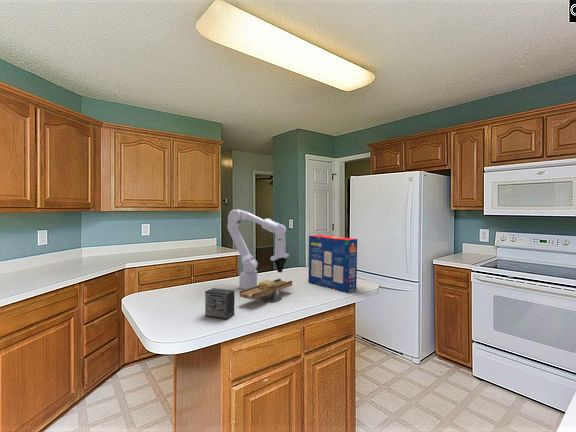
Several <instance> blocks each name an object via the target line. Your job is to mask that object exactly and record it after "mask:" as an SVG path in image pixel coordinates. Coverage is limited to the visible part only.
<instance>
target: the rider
mask: <svg viewBox="0 0 576 432" xmlns="http://www.w3.org/2000/svg"><path fill="white" fill-rule="evenodd" d="M258 285H259V289H263V290H265V289H268V288H271V287H274V286H275V282H274V280H268V279H267V280H261V281H259V282H258Z"/></svg>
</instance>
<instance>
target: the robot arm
mask: <svg viewBox="0 0 576 432" xmlns="http://www.w3.org/2000/svg"><path fill="white" fill-rule="evenodd" d="M242 220H243V221H244V220H248V221H250V222H253V223H256V224H258V225H260V226H261V228H262V229H264V230H266V231H268V232H270V233H274V235H275V236H274V237H275V238H274V255H271V256H270V262H271V261H272V262H274V263H275V267H276V271H277V273H280V274H281V273H283V270H284V267H285V264H286V262H287V258H289V257H290V253H288V252H287V253H286V246H287V244H286V242H287V241H286V240H287V239H286V232H287V228H286V226H285V225H284V224H282V223H281V224H280V222H277V221H274V220H272V218H264V219H263V218H261V217H259V216H257V215H255V214H253V213H251V212H249V211H246V210H242V209H239V208H238V209H232V210H230V212H229V213H228V215H227V227H226V228H227V230H228V232H229V234H230V238H231V239H232V241H233V243H234V245H235V247H236V249H237V251H238V253H239V255H240V258H241V263H242V269H243V271H241V272H240V274H239V278H238V279H239V286H238V289H240V290H245V289H248V288H251V287H254V286H258V270H257V268H258V266H259V263H258V261H257V259H255V258H254V256H253V255H252V254H251V253H250V250H249V248H248V247H247V244H246V242H245V240H244V238H243V236H242V234H241V232H240V230H239V226H240V223H241V221H242Z"/></svg>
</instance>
